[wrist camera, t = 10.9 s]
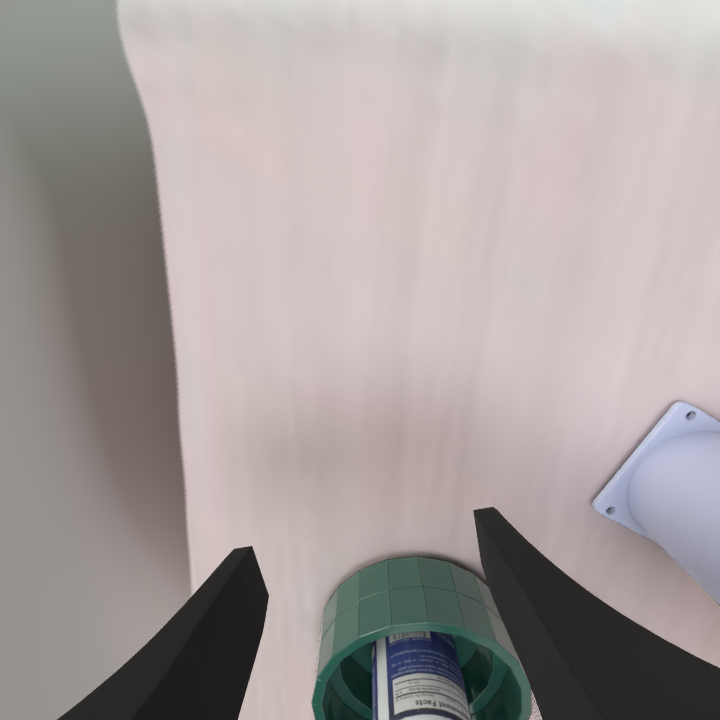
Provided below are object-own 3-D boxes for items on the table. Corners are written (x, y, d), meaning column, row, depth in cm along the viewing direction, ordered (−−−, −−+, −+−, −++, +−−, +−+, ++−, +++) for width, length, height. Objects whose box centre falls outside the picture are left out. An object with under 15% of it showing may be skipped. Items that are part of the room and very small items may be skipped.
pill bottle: (421, 673, 27) (450, 901, 17) (356, 640, 26) (350, 859, 17) (468, 623, 25) (527, 840, 16) (401, 587, 25) (422, 791, 15)
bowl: (537, 597, 25) (577, 678, 20) (440, 711, 28) (456, 806, 23) (376, 521, 24) (379, 589, 19) (293, 649, 27) (276, 736, 22)
